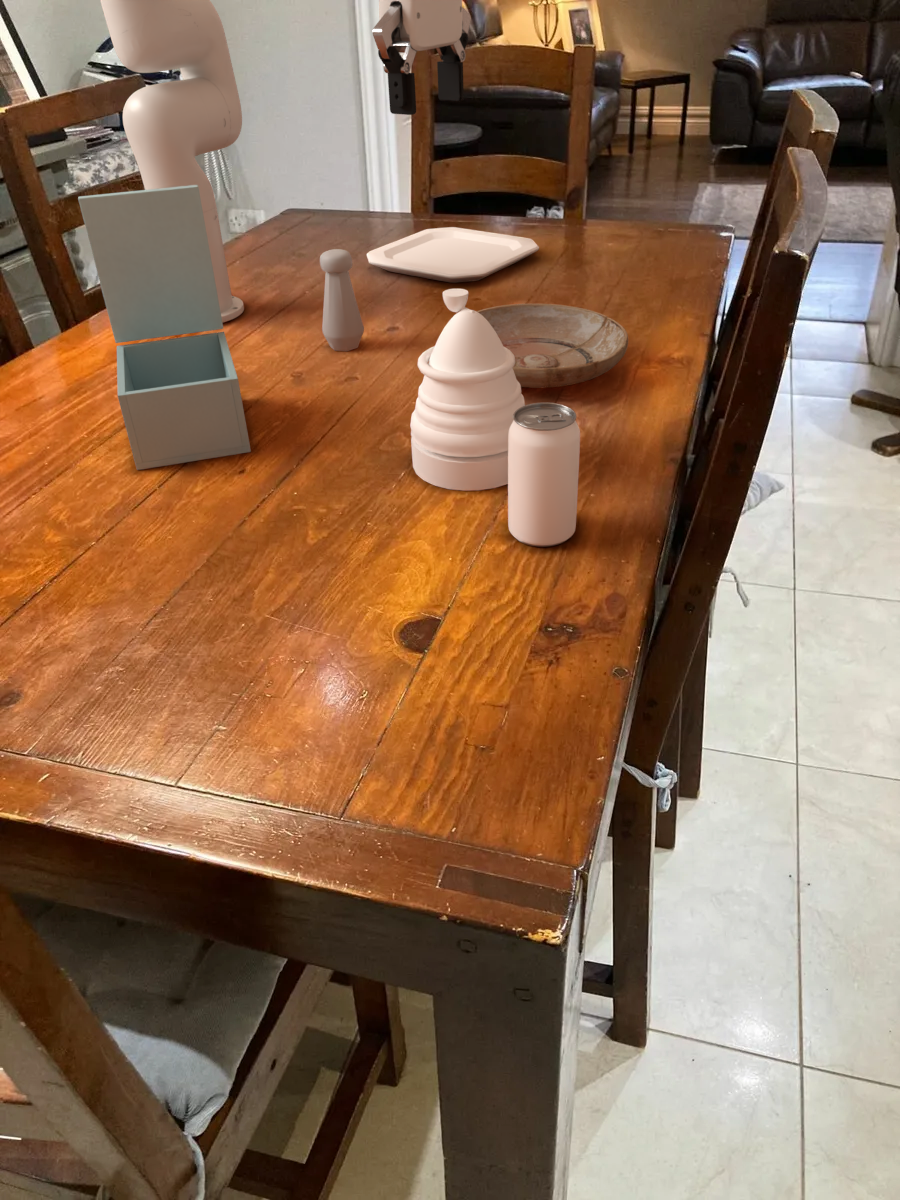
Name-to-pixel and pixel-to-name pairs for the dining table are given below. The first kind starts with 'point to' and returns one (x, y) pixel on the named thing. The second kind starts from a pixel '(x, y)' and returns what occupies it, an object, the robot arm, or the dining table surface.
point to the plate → (452, 254)
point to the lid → (153, 262)
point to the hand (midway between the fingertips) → (427, 107)
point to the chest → (181, 400)
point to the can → (543, 474)
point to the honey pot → (464, 404)
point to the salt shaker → (340, 302)
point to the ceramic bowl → (557, 342)
